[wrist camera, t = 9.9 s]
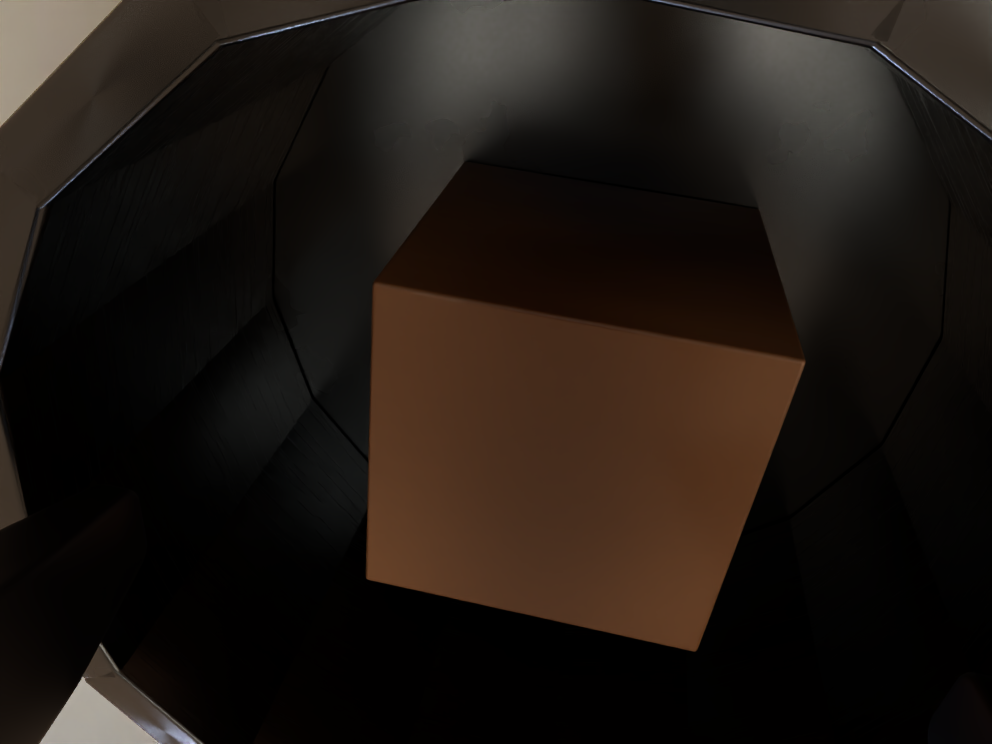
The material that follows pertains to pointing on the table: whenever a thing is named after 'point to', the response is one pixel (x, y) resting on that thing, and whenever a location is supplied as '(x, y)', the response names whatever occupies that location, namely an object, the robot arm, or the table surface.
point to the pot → (347, 351)
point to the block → (574, 400)
